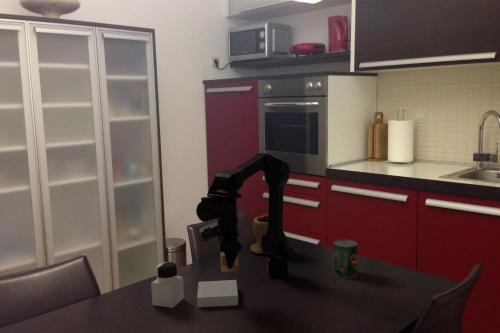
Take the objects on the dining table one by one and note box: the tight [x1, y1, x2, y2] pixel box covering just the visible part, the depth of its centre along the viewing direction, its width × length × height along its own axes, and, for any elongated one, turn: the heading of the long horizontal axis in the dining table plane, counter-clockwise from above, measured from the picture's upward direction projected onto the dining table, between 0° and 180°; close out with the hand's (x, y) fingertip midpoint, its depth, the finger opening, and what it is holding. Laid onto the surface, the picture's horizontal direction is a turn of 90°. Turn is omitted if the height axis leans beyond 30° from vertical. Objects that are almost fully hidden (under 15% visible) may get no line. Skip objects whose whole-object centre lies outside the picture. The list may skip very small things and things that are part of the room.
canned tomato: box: [333, 239, 358, 279], centre depth 157 cm, size 8×8×11 cm
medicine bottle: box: [150, 261, 185, 309], centre depth 138 cm, size 7×7×12 cm
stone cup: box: [250, 213, 268, 254], centre depth 182 cm, size 15×12×15 cm
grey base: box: [196, 279, 239, 308], centre depth 140 cm, size 12×12×3 cm
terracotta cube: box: [220, 252, 239, 273], centre depth 137 cm, size 5×5×5 cm
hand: (229, 265), depth 137 cm, fingers closed on terracotta cube, 5 cm apart
